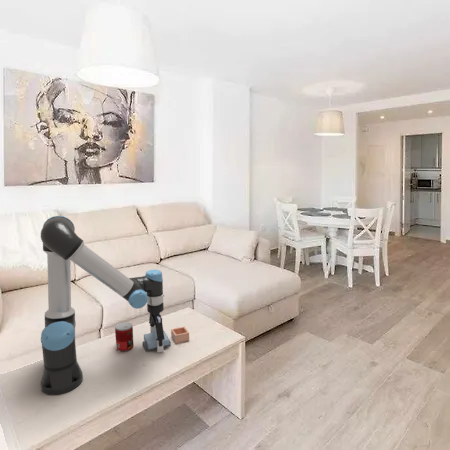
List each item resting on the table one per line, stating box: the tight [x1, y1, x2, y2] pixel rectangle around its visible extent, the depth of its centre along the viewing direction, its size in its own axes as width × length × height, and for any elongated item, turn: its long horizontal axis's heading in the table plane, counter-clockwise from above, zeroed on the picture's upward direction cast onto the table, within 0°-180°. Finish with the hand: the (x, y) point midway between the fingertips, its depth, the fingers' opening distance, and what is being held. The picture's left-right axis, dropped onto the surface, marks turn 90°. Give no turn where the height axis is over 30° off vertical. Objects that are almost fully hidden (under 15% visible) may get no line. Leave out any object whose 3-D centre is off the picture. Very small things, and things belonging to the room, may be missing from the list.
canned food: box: [114, 321, 134, 352], centre depth 164 cm, size 8×8×11 cm
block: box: [142, 341, 172, 352], centre depth 166 cm, size 12×6×2 cm, turn 115°
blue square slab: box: [143, 329, 171, 349], centre depth 165 cm, size 10×10×2 cm
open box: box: [170, 326, 190, 345], centre depth 171 cm, size 7×7×4 cm
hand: (157, 345), depth 166 cm, fingers open, 12 cm apart
